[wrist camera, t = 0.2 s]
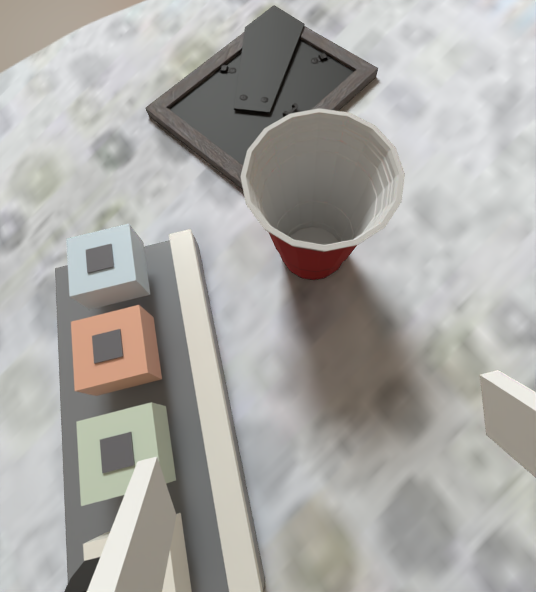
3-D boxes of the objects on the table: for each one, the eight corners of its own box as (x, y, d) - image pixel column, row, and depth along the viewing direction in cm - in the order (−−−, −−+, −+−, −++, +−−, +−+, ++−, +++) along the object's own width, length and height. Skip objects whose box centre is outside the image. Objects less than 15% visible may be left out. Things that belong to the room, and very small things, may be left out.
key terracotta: (162, 379, 28) (147, 372, 26) (96, 395, 28) (73, 390, 25) (153, 317, 30) (138, 304, 27) (91, 332, 30) (69, 321, 27)
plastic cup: (282, 327, 34) (277, 270, 23) (240, 229, 38) (217, 140, 26) (393, 281, 35) (440, 205, 23) (340, 191, 38) (359, 88, 27)
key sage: (176, 480, 26) (161, 485, 23) (104, 499, 26) (79, 506, 23) (165, 406, 28) (150, 402, 25) (98, 423, 28) (75, 421, 25)
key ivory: (193, 603, 23) (179, 626, 20) (113, 624, 23) (87, 650, 20) (180, 512, 25) (165, 522, 22) (106, 532, 25) (81, 544, 22)
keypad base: (265, 580, 27) (261, 596, 24) (85, 629, 27) (61, 651, 24) (198, 245, 37) (190, 229, 34) (67, 277, 37) (48, 263, 34)
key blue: (150, 294, 31) (135, 279, 28) (89, 309, 31) (68, 295, 28) (143, 242, 33) (128, 222, 30) (85, 256, 33) (65, 237, 30)
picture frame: (274, 21, 49) (150, 118, 44) (274, 5, 47) (143, 104, 42) (375, 80, 44) (247, 195, 40) (378, 64, 42) (245, 183, 38)
